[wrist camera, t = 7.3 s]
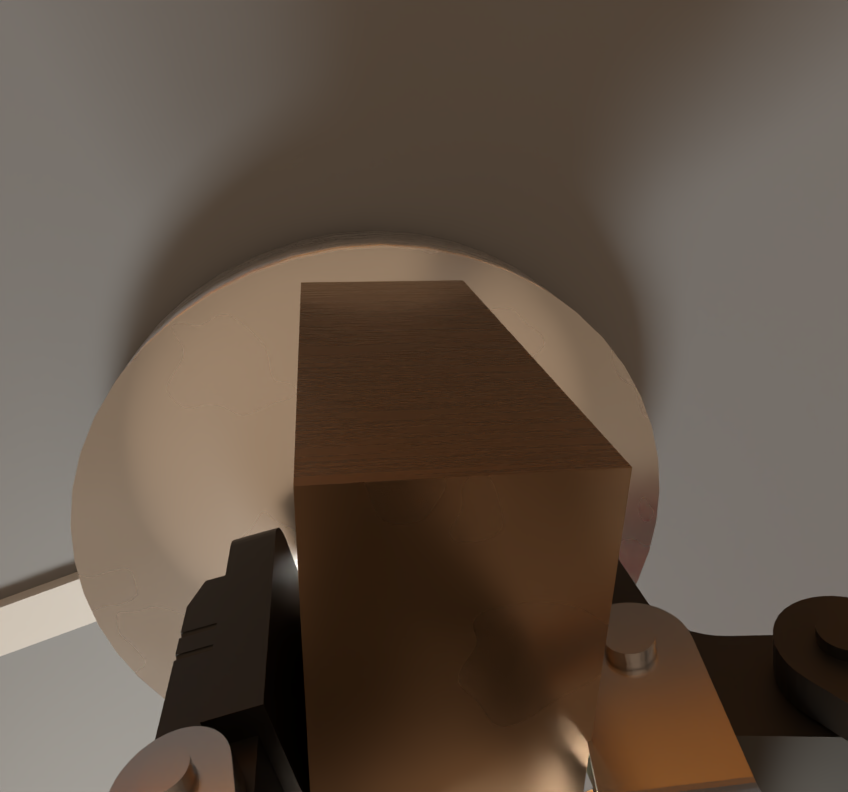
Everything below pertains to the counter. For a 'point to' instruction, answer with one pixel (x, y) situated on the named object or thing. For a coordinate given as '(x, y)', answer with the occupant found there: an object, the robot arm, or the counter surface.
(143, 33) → the dial plate
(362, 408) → the dial
